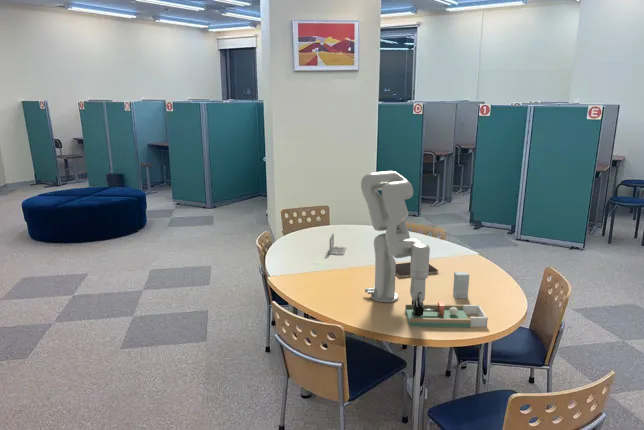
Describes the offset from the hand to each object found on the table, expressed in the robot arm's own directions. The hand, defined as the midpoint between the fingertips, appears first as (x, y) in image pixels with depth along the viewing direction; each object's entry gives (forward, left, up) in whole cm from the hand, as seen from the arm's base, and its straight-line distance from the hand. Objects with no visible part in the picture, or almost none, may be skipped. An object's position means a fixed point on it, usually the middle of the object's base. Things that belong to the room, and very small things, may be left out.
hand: (417, 309), depth 198 cm
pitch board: (+8, 0, -4) cm, 9 cm away
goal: (+24, 0, -4) cm, 25 cm away
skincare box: (+24, +23, -4) cm, 34 cm away
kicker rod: (+5, 0, -2) cm, 5 cm away
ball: (+15, 0, 0) cm, 16 cm away
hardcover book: (+6, +56, -5) cm, 57 cm away
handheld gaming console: (-35, +86, -4) cm, 93 cm away
